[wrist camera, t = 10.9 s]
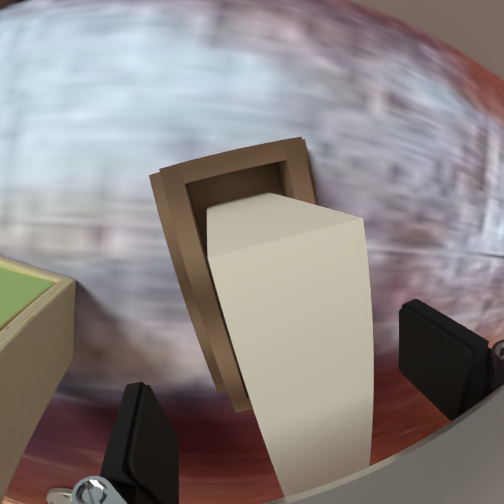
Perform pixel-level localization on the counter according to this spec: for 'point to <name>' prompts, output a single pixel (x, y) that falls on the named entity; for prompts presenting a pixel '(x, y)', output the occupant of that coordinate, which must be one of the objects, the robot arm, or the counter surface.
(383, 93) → the counter surface
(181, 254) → the brown wooden tray
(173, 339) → the counter surface
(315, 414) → the rectangular block
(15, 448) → the toy refrigerator
